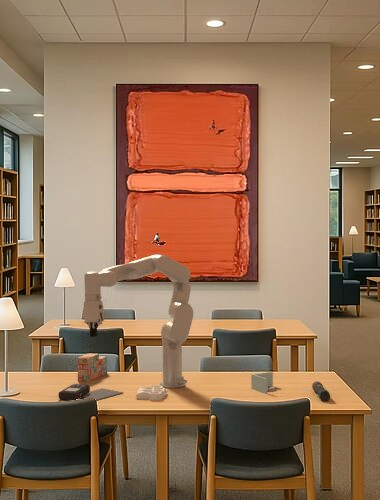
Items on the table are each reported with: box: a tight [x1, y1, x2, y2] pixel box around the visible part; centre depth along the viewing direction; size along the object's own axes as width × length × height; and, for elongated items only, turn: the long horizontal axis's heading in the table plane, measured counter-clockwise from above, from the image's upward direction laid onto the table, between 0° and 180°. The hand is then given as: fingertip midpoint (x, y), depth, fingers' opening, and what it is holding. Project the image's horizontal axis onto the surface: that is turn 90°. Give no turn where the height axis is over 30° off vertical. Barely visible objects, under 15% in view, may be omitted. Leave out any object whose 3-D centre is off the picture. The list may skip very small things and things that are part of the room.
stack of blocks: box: [76, 352, 108, 382], centre depth 391 cm, size 21×6×12 cm, turn 160°
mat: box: [80, 388, 124, 402], centre depth 351 cm, size 14×18×1 cm
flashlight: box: [311, 381, 331, 402], centre depth 347 cm, size 5×22×5 cm, turn 0°
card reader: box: [58, 383, 91, 401], centre depth 347 cm, size 9×4×15 cm
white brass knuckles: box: [135, 384, 169, 401], centre depth 349 cm, size 3×18×15 cm
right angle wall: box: [250, 371, 276, 394], centre depth 360 cm, size 12×12×8 cm
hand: (93, 336), depth 354 cm, fingers closed
